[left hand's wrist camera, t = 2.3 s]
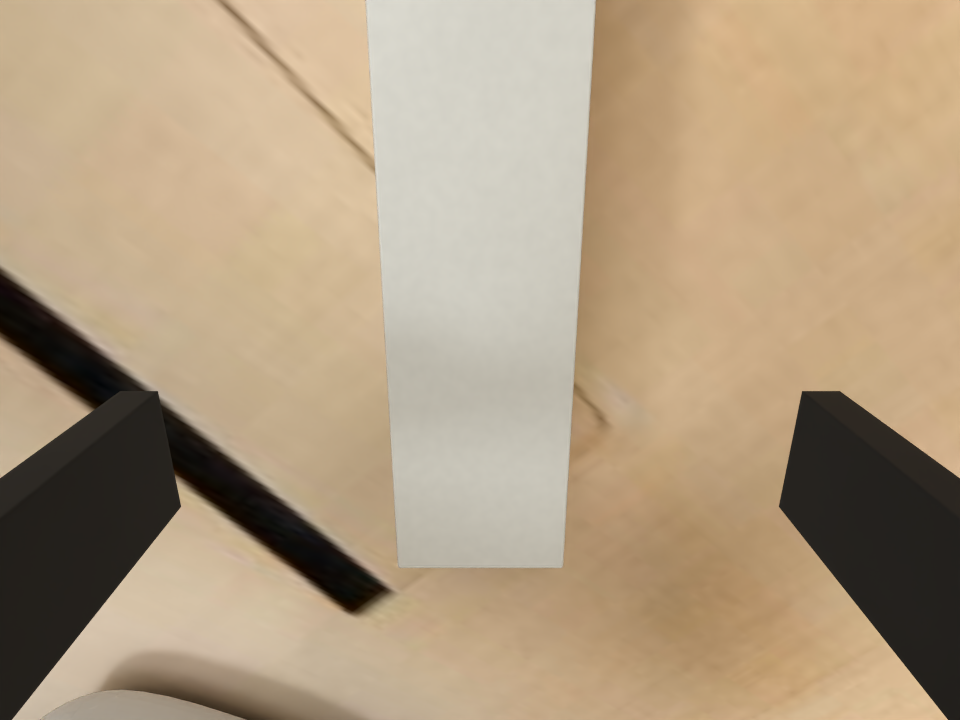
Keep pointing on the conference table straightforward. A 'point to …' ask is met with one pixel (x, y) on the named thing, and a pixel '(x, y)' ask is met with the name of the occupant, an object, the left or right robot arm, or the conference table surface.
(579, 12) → the post
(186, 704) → the projector
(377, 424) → the conference table surface
